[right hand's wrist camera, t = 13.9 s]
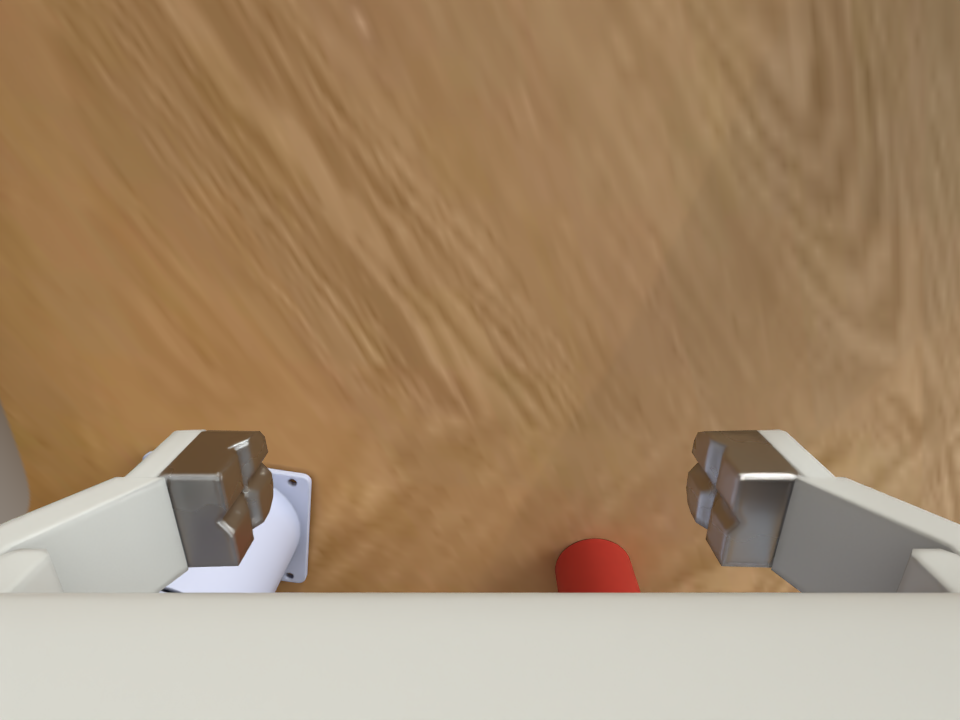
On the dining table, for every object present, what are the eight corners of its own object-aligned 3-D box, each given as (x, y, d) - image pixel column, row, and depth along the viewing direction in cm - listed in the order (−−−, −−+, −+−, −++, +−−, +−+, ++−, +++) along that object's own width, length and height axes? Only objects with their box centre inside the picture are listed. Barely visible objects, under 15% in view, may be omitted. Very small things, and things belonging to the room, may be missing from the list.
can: (539, 570, 33) (546, 633, 29) (593, 525, 32) (608, 584, 27) (592, 608, 34) (606, 674, 30) (646, 566, 33) (669, 629, 28)
